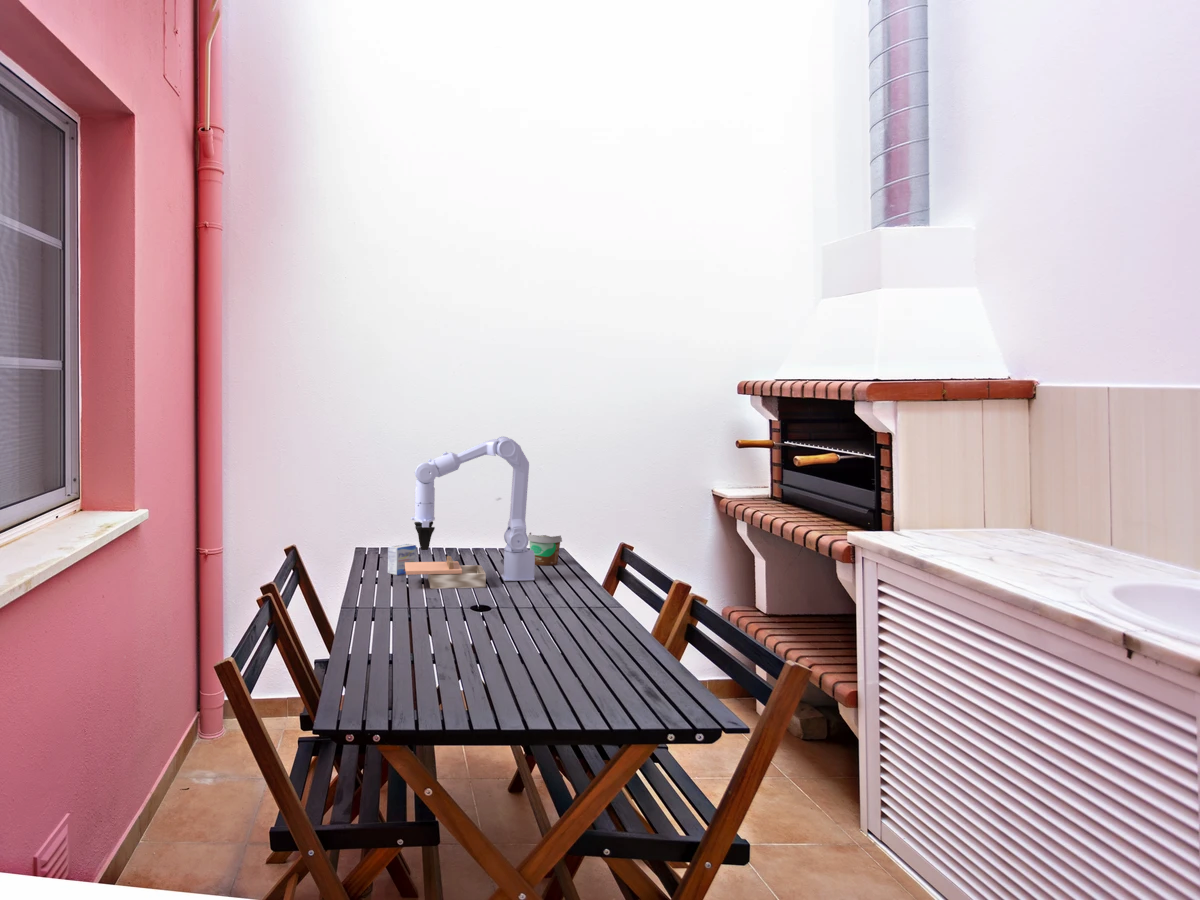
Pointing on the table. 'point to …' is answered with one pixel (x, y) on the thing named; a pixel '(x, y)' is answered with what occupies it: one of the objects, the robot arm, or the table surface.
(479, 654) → the table surface
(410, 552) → the medicine box
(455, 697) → the table surface
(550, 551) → the food container
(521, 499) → the robot arm
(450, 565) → the sliding lid
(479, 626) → the table surface
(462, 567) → the storage case
